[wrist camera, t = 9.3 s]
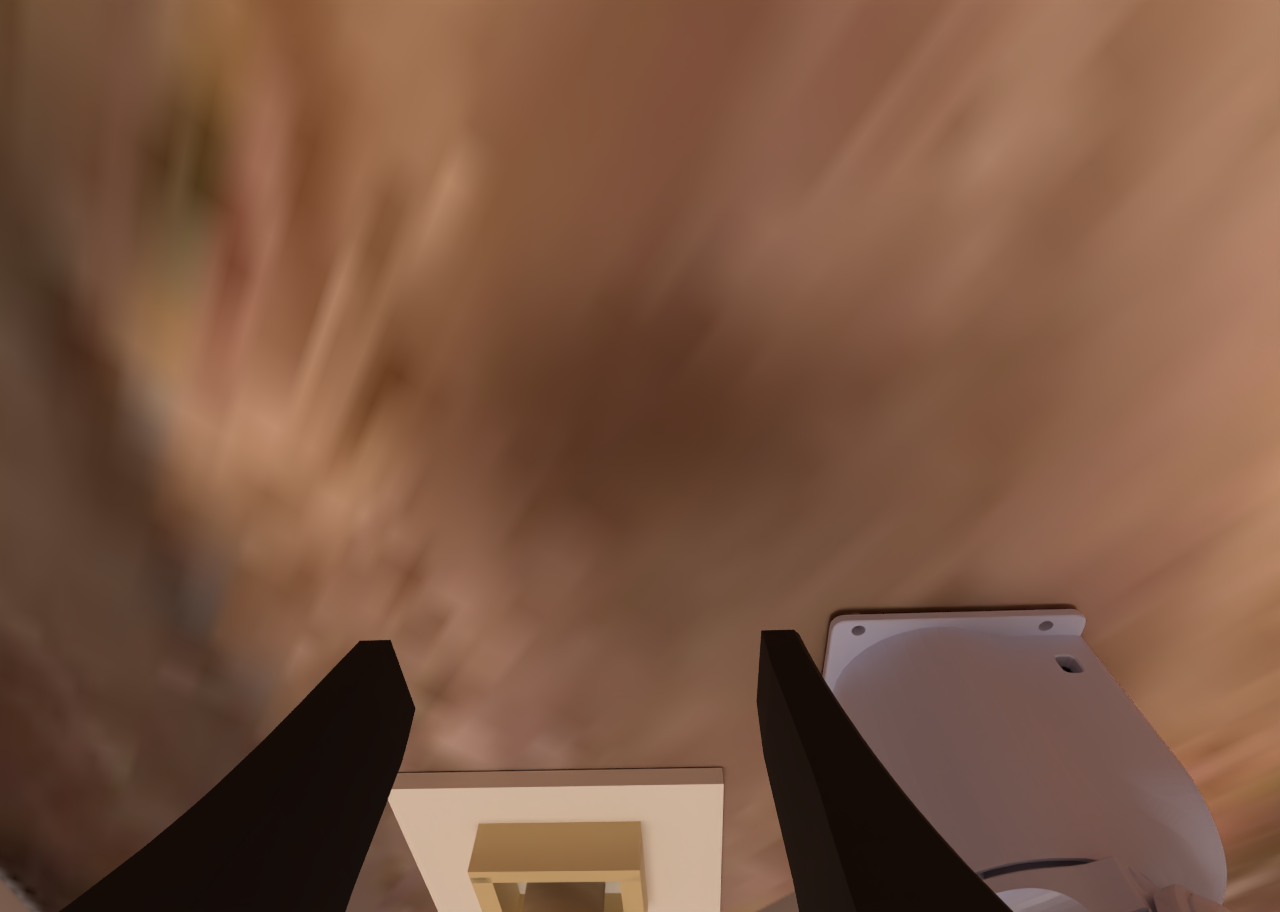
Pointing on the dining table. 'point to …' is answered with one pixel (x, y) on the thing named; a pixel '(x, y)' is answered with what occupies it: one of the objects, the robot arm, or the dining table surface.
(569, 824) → the socket plate
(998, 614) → the robot arm
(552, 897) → the birch peg
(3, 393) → the dining table surface
